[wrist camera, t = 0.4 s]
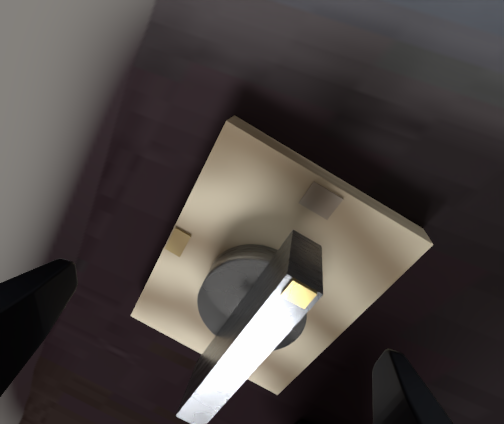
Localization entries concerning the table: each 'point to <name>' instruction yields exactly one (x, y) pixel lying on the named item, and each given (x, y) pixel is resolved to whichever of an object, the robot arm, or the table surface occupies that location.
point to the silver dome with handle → (250, 316)
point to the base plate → (277, 244)
